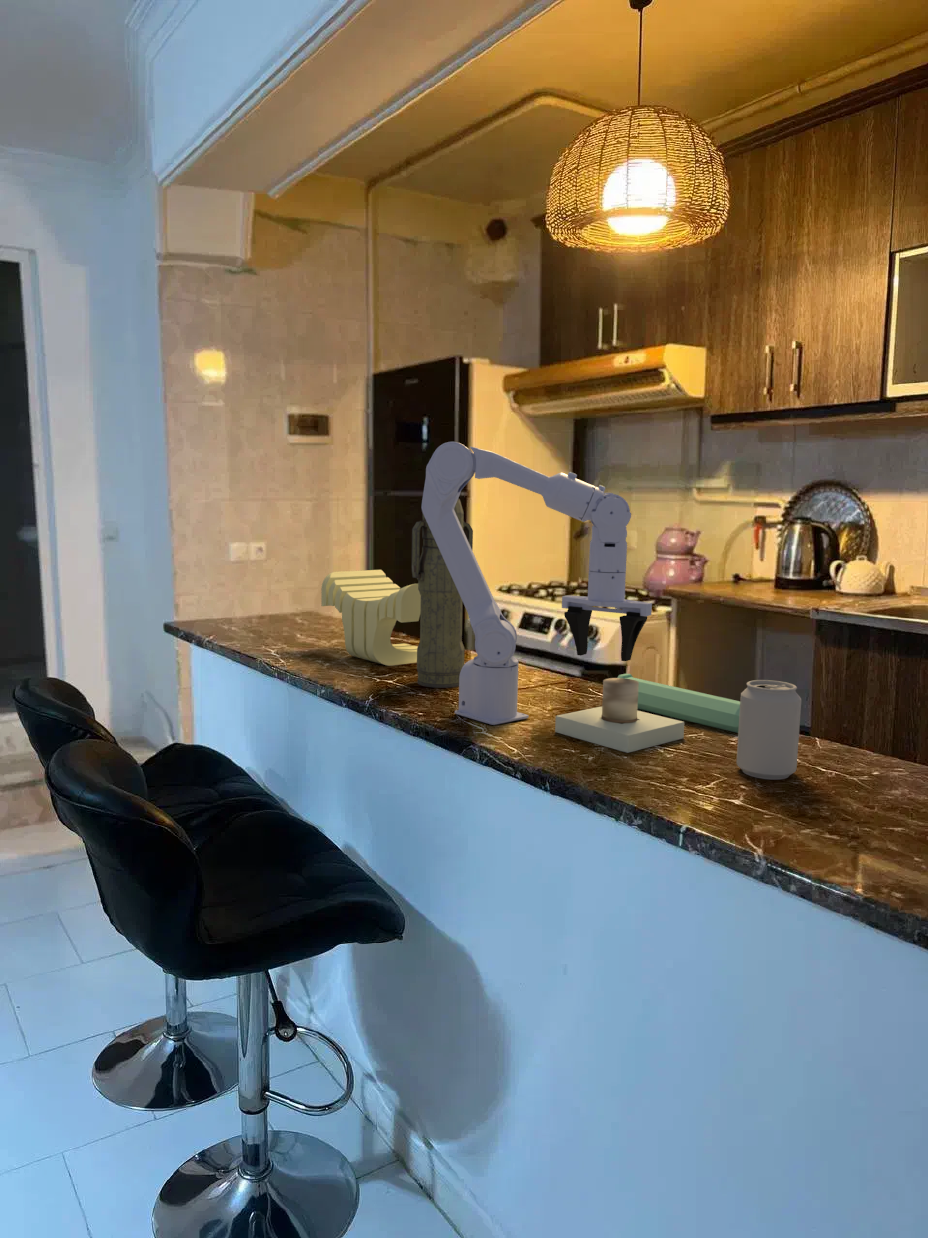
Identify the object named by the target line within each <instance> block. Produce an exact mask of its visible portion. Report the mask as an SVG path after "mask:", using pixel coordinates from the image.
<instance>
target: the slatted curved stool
mask: <svg viewBox="0 0 928 1238" xmlns="http://www.w3.org/2000/svg"><path fill="white" fill-rule="evenodd" d="M320 589H321V592H320V594H321V598H320V599H321V603H320V604H321V607H328V606H329V607H334V609H336V610H337V611H338V613H339V614H341V623H342V627H343V635H344V645H345V650H346V652H347V654H348V655H349V656H351V657H355V658H359V659H362V660H366V661H370V662H373V663H376V664H381V665H385V666H389V667H390V666H399V665H407V664H408V665H409V664H417V648H418V646H417V645H412V644H409V643H396V644H395V643H394V644H393V643H392V641H391V636H392V633H393V630H394V628H395V626H396V623H397V621H398V622H399V623H400V624H401V623H411V622H412V623H413V622H419V620H420V611H421V595H420V592H419V590H418V583H412V584H409V585H406V586H403V587H400V586H399V585H398V584H396V583H394V582H393V580H392V579H391V578H390V577H388V576H387V575H386V573H385V572H384V571H383V570H382V569H370V570H367V569H365V570H346V571H345V570H343V571H332V572H330V573H329V574H327V575H326V576H325V577H324V579H323V581H322V584H321V588H320Z"/></svg>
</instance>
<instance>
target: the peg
mask: <svg viewBox="0 0 928 1238" xmlns="http://www.w3.org/2000/svg"><path fill="white" fill-rule="evenodd" d="M602 685H603V686H602V702H601V703H602V705H601V706H602V719H603V720H605V721H608V722H613V723H620V724H624V723H633V722H636V721H637V711H638V708H637V707H638V686H639V682H638V681H635V680H632V679H624V678H617V677H610V678H605V679H603V680H602Z"/></svg>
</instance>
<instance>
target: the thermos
mask: <svg viewBox="0 0 928 1238" xmlns="http://www.w3.org/2000/svg"><path fill="white" fill-rule="evenodd" d="M454 511H455V513H456V515H457V518H458V520H459V522H460V524H461V527H462V529H463V531H464V533H465V535H466V538H467V540H468V542H469V544H470V547H471V549H472V550H473V545H474V543H473V540H474V538H473V537H474V530H473V528H472V527H471V525H470V523H468V522H465V521H464V514H465V513H464V509H463V506H462V501H461V499H460V498H458V500H457V503H456V505H455V507H454ZM421 530H422V531H421ZM421 534H422V536H421ZM421 538H422V540H423V541H422V546H420V545H421V544H420V543H421ZM420 547H421V548H420ZM420 549H421V551H420ZM420 553H421V554H420ZM411 574H412V575H411V576H412V578H413V579H414V578H415V579H416V580H417V584H418V590H419V592H420V595H421V611H420V617H419V620H420V622H419V623H420V625H419V628H420V629H419V631H420V632H419V643H418V648H417V662H416V671H417V682H416V683H417V685H419V686H422V687H426V688H439V689H440V688H441V689H442V688H443V689H445V688H446V689H447V688H456V687H459V677H460V672H461V669H462V667H463V666H464V664H465V646H464V644H463V641H462V640H463V639H462V638H463V637H462V636H463V605H464V603H463V601H462V599H461V597H460V594H459V592H458V590H457V588H456V585H455V583H454V581H453V579H452V577H451V574H450V572H449V570H448V568H447V566H446V563H445V561H444V559H443V557H442V554H441V552H440V550H439V548H438V546H437V543H436V541H435V539H434V537H433V534H432V532H431V530H430V528H429V526H428V523H427V521H426V519H425V517H424V514H423V513H422V520H419V521H416V522H415V524H414V526H413V527H412V528H411Z"/></svg>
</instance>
